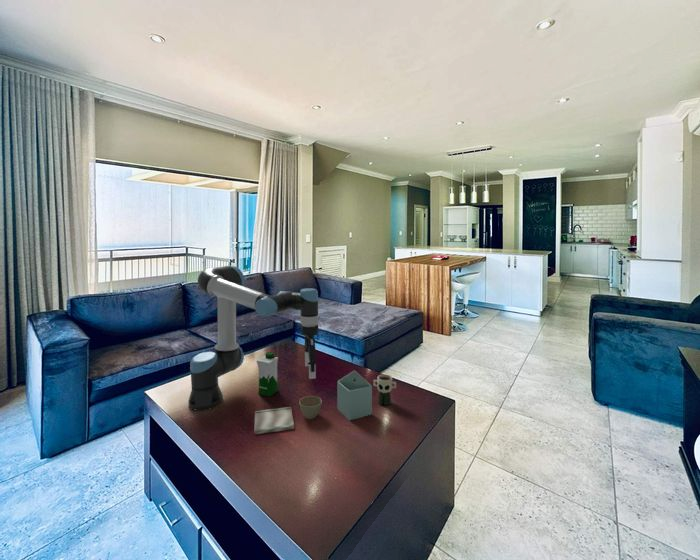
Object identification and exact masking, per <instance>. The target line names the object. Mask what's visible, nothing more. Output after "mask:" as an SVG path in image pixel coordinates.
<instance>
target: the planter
mask: <svg viewBox="0 0 700 560" xmlns="http://www.w3.org/2000/svg"><path fill="white" fill-rule="evenodd" d="M354 380H355V381H354ZM336 396H337V410H338V411H339V412H340V413H341V414H342V415H343V416H344V417H345V418H346V419H347V420H348V421H352V420H358V419H361V418H364V416H365V417H369V416H372V415H371V414H373V386H372V384H371V383H370V382H368V381H367V380H366V378H365V377H363V376H362V375H361V374H360V373H358V372H357V370H352V371H351V372H350V373H348V374H346V375H344V376H343V377H342V378H340V379H338V380H337V395H336ZM368 415H369V416H368Z"/></svg>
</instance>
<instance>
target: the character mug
mask: <svg viewBox="0 0 700 560" xmlns="http://www.w3.org/2000/svg"><path fill="white" fill-rule="evenodd" d="M376 383H377V384H376ZM372 384H373V387H377V390H378V396H377V397H378V398H377V403H378V404H380V405H381V404H382V405H385V406H388V405H387V404H389V405H391V402H392V400H391V399H392V397H391V391H392V389H397V382H396V381H393V377H392V375H391V374H386V373H385V374H379V375H378V376H377V379H373V383H372Z"/></svg>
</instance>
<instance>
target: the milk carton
mask: <svg viewBox="0 0 700 560" xmlns="http://www.w3.org/2000/svg"><path fill="white" fill-rule="evenodd" d="M278 361H279V357H277V356H275V355H274V352H272V351H270V352H266V353H265V355H263V356H262V357H260V358H259V359H257V360H256V365H257V369H258V395H261V396H266V397H272V396H273V395H275V394H276V393H277V392H278V391H279V385H278V384H279V383H278V363H279V362H278Z"/></svg>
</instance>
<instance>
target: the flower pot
mask: <svg viewBox="0 0 700 560" xmlns="http://www.w3.org/2000/svg"><path fill="white" fill-rule="evenodd" d="M298 403H299V404H298V405H299V408H300V412H301V414H302V415H303V416H304V418H305V419H307V420H314V419H316V417H317V416H318V414H319V413H320V410H321V407H322V403H323V400H322V399H321V397H320V396H315V395H307V396H303V397H302V398H300V399H299V401H298Z"/></svg>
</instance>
